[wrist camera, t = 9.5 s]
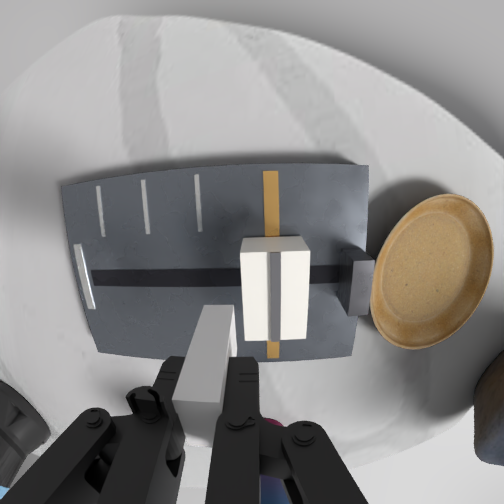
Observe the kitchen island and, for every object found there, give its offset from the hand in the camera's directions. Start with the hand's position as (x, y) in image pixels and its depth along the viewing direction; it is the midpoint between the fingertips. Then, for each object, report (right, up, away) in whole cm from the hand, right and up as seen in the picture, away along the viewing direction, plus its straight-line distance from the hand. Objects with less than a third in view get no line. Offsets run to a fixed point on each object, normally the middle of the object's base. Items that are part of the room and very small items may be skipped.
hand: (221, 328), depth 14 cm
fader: (+3, +2, +6) cm, 7 cm away
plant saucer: (+18, +2, +9) cm, 20 cm away
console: (-2, +3, +8) cm, 9 cm away
